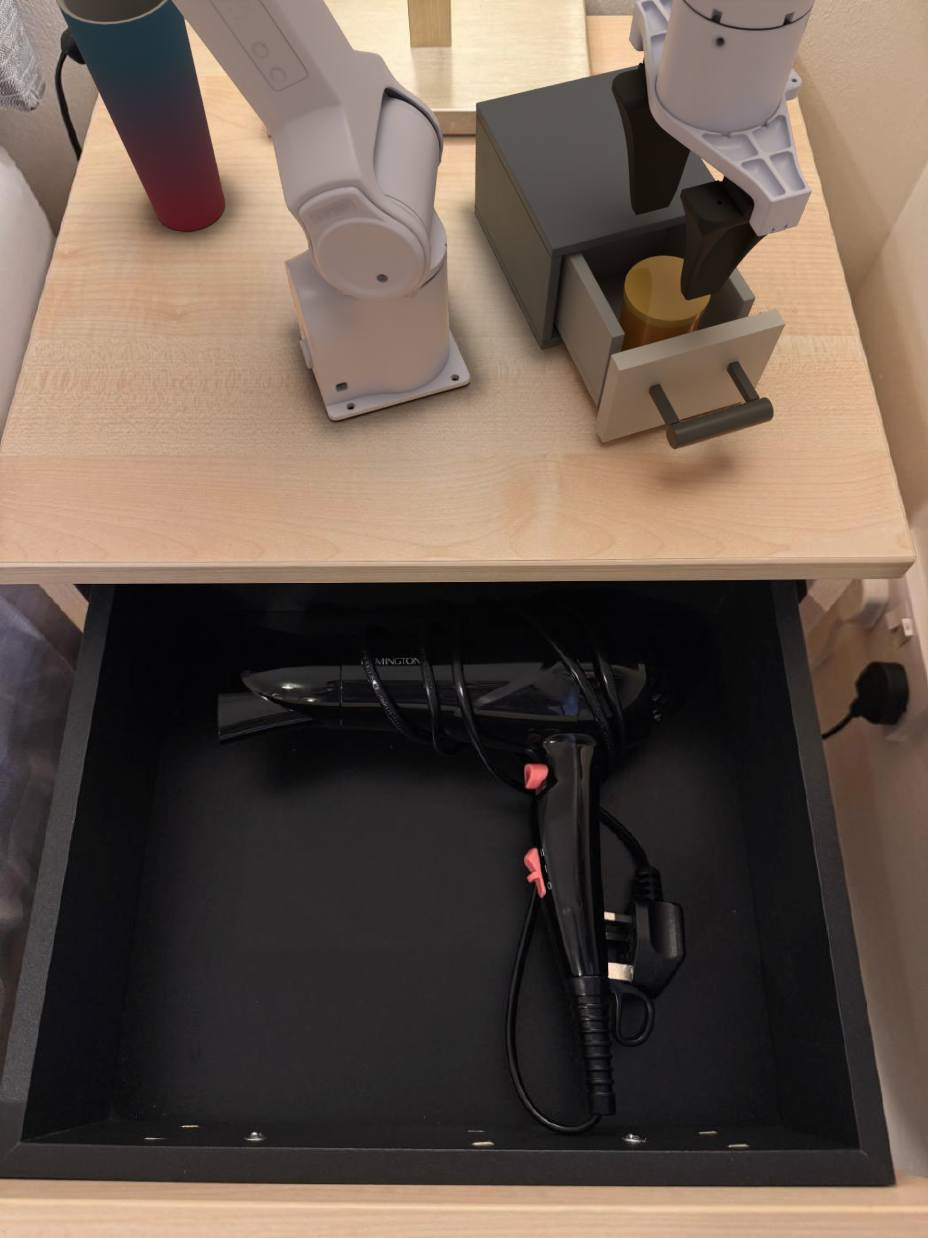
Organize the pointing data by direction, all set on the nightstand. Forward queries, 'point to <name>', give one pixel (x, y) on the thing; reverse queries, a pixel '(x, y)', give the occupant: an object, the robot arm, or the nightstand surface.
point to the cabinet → (559, 186)
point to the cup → (152, 102)
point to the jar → (657, 303)
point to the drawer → (664, 348)
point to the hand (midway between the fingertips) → (674, 248)
